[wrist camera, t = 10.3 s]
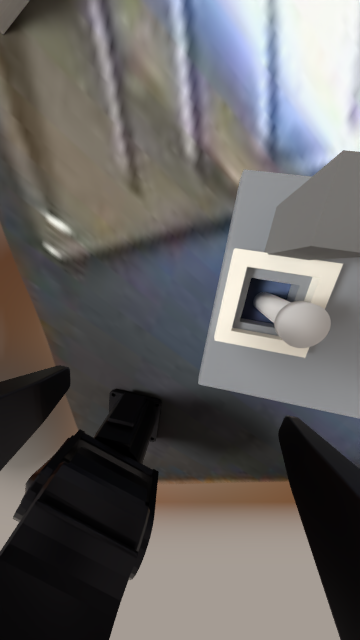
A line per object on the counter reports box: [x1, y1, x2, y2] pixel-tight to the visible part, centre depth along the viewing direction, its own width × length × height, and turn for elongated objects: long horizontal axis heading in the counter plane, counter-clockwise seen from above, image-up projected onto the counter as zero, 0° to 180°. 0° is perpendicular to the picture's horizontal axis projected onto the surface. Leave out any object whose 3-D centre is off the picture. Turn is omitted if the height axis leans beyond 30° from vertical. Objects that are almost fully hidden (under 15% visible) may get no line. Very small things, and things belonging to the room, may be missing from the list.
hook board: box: [198, 170, 360, 418], centre depth 13 cm, size 19×17×8 cm
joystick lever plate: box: [214, 150, 360, 358], centre depth 12 cm, size 11×8×7 cm
